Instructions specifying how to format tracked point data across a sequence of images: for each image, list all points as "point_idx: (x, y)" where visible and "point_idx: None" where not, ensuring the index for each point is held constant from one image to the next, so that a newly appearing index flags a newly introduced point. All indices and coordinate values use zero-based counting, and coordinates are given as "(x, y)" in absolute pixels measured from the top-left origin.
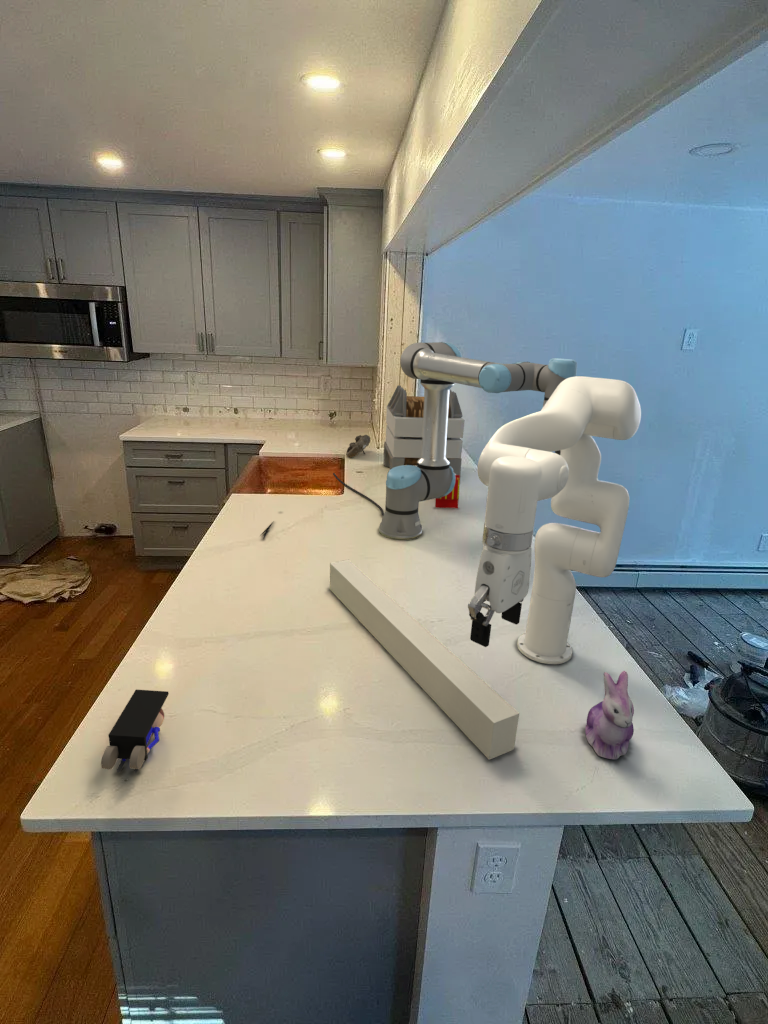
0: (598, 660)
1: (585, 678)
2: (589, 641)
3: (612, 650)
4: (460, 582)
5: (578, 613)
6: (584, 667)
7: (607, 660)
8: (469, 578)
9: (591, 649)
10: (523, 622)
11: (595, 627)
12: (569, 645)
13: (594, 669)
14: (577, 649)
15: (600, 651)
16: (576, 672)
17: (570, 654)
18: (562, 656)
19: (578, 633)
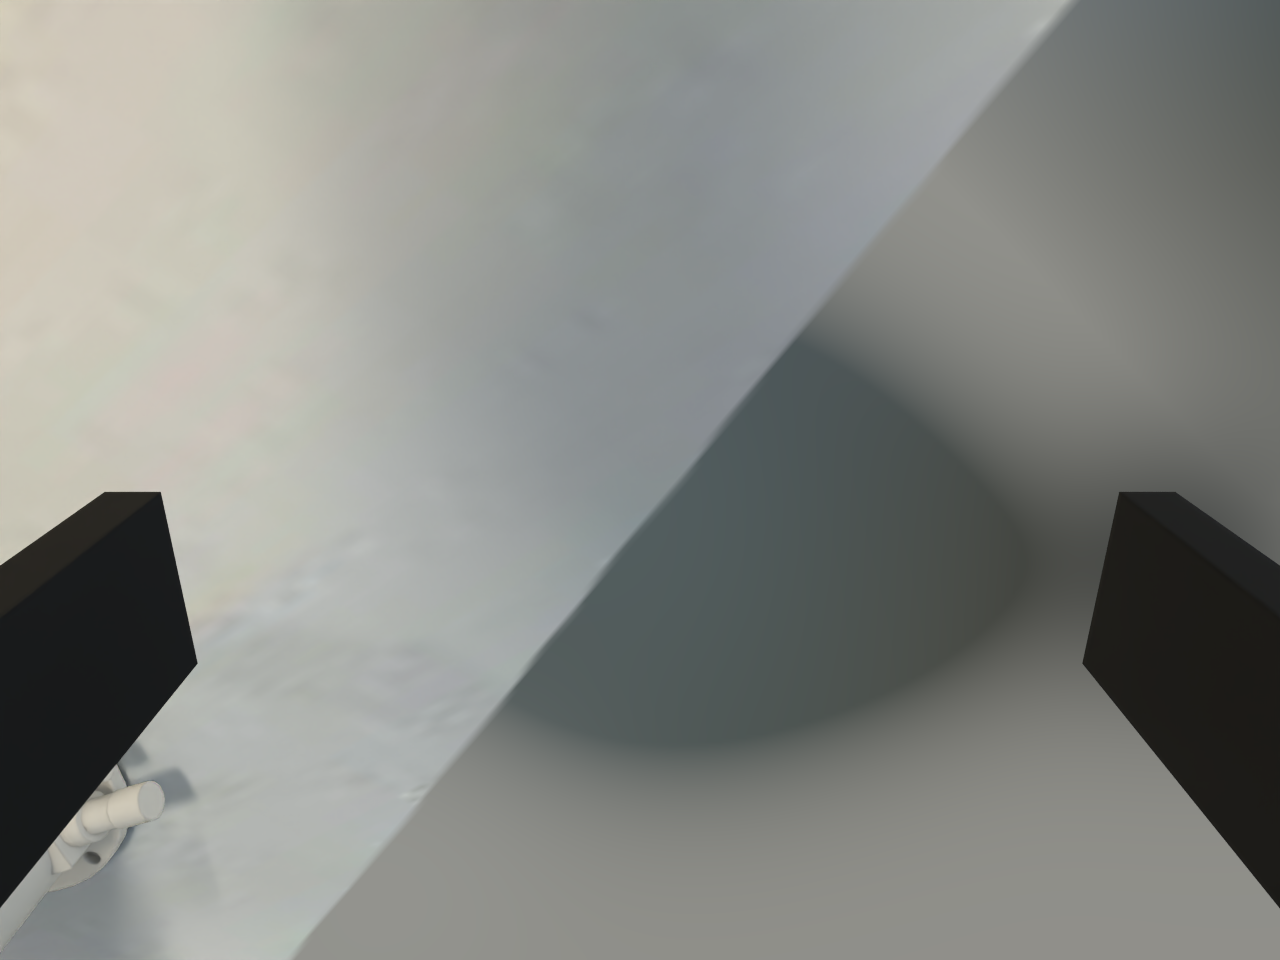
0: (173, 932)
1: (28, 955)
2: (257, 856)
3: (288, 931)
4: (38, 35)
5: (429, 716)
6: (80, 925)
7: (207, 949)
8: (146, 30)
9: (212, 886)
10: None
11: (386, 818)
12: (103, 858)
13: (107, 949)
14: (156, 857)
15: (235, 910)
16: (24, 924)
17: (54, 889)
18: None
19: (267, 802)
